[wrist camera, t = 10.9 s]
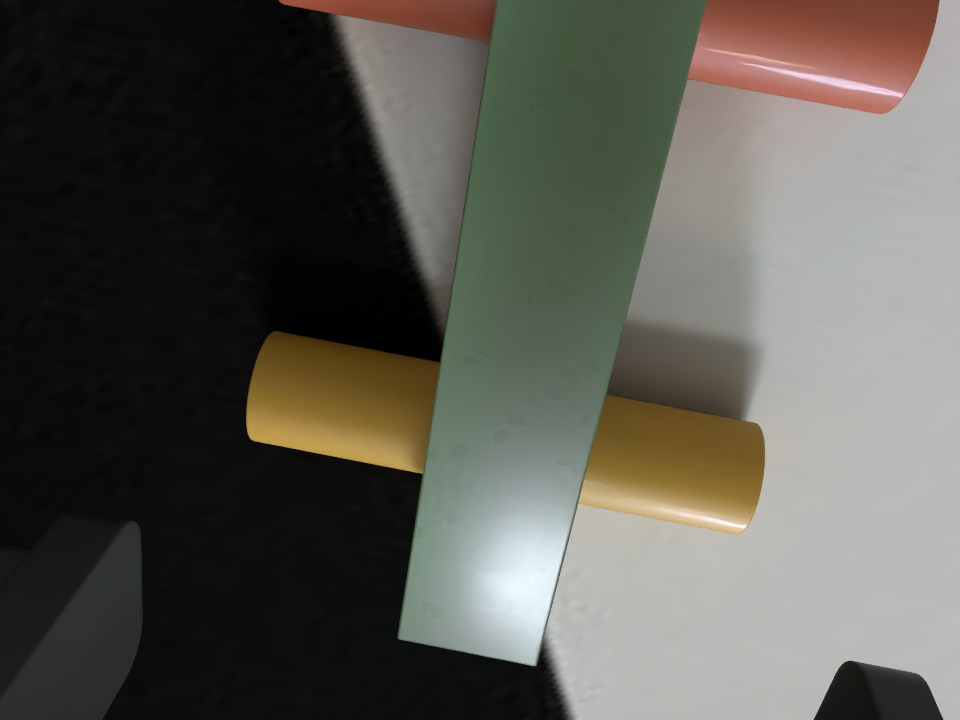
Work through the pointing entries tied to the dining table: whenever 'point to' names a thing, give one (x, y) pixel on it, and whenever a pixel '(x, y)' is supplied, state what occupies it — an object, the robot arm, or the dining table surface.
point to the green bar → (539, 306)
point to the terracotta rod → (744, 42)
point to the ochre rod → (408, 411)
